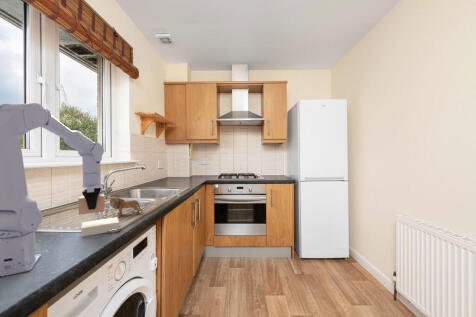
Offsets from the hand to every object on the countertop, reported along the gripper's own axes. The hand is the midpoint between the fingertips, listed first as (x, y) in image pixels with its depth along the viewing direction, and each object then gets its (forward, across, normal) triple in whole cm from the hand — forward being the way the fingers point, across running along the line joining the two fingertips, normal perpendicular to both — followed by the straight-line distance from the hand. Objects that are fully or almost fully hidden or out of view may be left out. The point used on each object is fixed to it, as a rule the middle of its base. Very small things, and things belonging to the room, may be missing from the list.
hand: (92, 207), depth 83 cm
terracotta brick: (+2, 0, 0) cm, 2 cm away
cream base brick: (+9, -1, -3) cm, 10 cm away
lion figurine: (+9, +19, -12) cm, 24 cm away
